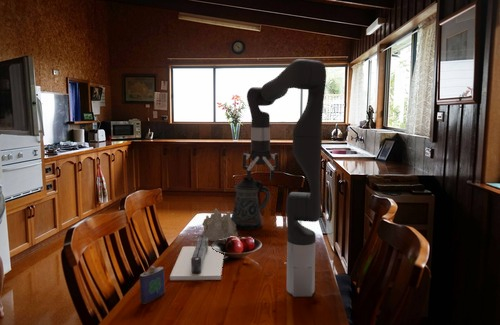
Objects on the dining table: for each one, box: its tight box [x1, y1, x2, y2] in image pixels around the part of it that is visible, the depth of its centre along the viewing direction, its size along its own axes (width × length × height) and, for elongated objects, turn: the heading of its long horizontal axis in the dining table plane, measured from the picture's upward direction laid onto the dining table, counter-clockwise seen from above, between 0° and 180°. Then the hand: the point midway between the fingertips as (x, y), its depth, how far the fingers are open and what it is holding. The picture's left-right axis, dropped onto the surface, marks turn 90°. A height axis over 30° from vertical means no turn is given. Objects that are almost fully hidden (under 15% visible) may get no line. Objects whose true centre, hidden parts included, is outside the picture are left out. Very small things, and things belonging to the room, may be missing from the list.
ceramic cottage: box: [202, 208, 239, 242], centre depth 187 cm, size 16×16×15 cm
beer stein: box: [231, 177, 271, 231], centre depth 202 cm, size 16×19×25 cm
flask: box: [139, 265, 166, 305], centre depth 125 cm, size 9×3×11 cm, turn 144°
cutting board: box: [169, 245, 225, 281], centre depth 154 cm, size 30×18×2 cm, turn 1°
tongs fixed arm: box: [191, 236, 209, 274], centre depth 153 cm, size 26×4×5 cm, turn 1°
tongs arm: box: [192, 236, 203, 258], centre depth 154 cm, size 22×2×5 cm, turn 1°
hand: (260, 179), depth 156 cm, fingers open, 8 cm apart
